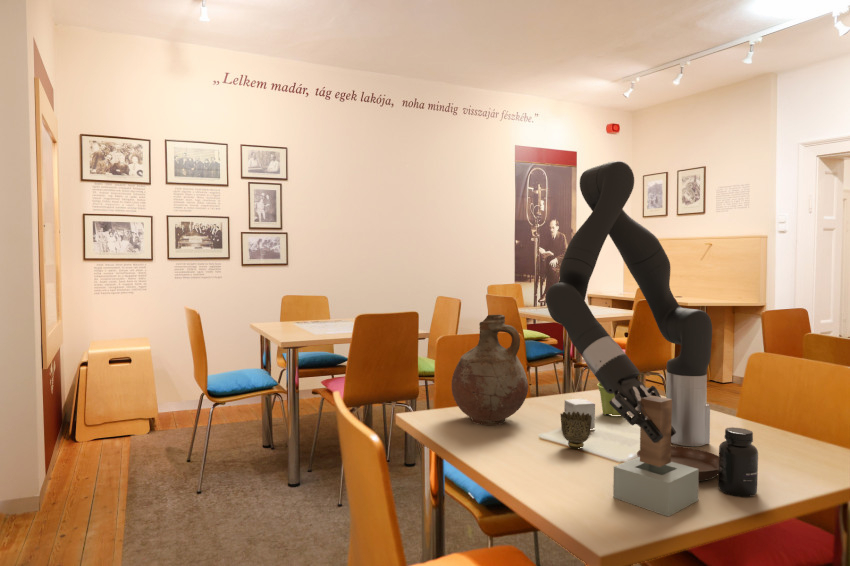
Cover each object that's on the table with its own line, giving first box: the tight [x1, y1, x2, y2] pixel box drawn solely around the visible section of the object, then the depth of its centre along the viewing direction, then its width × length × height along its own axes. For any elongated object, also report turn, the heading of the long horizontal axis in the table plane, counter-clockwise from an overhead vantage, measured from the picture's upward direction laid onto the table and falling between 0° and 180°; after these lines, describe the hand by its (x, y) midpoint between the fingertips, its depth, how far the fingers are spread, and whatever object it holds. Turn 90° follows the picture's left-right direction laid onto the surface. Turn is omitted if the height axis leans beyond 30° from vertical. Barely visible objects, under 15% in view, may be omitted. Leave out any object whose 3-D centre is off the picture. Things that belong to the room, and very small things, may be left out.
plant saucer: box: [636, 445, 719, 482], centre depth 129 cm, size 18×18×3 cm
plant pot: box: [596, 382, 623, 415], centre depth 175 cm, size 9×9×9 cm
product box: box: [563, 398, 596, 429], centre depth 161 cm, size 6×6×7 cm
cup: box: [559, 411, 592, 450], centre depth 144 cm, size 8×7×8 cm
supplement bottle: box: [717, 427, 759, 498], centre depth 116 cm, size 7×7×12 cm
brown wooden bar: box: [639, 396, 672, 467], centre depth 112 cm, size 4×4×12 cm
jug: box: [451, 314, 529, 426], centre depth 168 cm, size 22×22×30 cm
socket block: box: [612, 456, 699, 517], centre depth 113 cm, size 11×11×6 cm
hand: (665, 437), depth 111 cm, fingers closed on brown wooden bar, 4 cm apart
